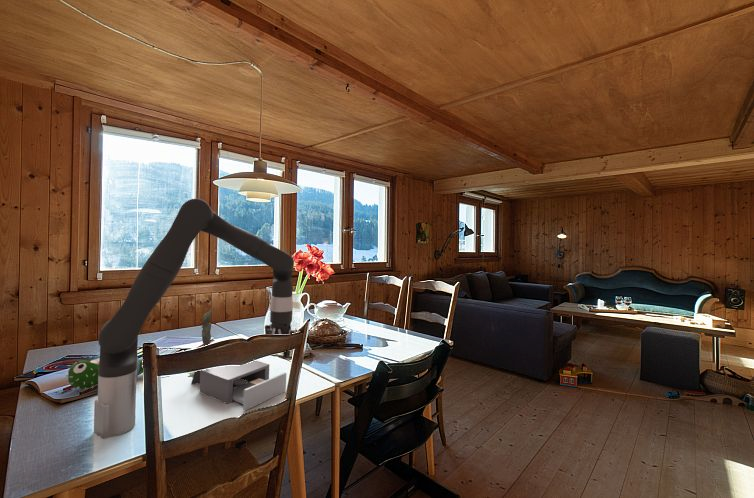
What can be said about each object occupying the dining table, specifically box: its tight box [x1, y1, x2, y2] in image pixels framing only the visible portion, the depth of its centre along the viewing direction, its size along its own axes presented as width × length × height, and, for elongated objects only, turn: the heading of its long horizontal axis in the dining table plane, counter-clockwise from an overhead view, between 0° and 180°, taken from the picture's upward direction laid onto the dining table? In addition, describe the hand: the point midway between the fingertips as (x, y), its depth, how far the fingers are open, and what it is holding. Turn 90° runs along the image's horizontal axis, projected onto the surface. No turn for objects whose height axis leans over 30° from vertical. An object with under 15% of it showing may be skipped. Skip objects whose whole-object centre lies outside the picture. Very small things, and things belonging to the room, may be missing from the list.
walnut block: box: [249, 378, 266, 387], centre depth 128 cm, size 4×4×4 cm
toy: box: [65, 356, 144, 391], centre depth 136 cm, size 22×11×30 cm
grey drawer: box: [232, 372, 287, 412], centre depth 130 cm, size 16×19×7 cm
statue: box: [190, 307, 214, 385], centre depth 141 cm, size 7×8×30 cm
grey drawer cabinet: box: [199, 360, 270, 404], centre depth 135 cm, size 16×19×8 cm
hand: (279, 356), depth 123 cm, fingers open, 5 cm apart
